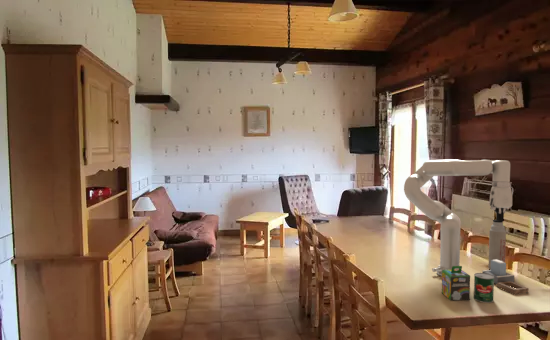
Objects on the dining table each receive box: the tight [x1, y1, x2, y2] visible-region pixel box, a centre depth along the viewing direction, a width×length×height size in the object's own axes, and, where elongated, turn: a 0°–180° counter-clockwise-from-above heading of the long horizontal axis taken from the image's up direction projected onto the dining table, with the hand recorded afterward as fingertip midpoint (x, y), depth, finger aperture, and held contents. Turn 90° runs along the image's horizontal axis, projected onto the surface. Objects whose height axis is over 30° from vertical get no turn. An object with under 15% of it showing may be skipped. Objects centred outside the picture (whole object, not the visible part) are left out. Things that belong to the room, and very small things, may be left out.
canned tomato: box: [473, 272, 495, 304], centre depth 178 cm, size 8×8×11 cm
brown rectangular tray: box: [496, 281, 529, 295], centre depth 189 cm, size 8×10×2 cm
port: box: [481, 269, 515, 285], centre depth 201 cm, size 10×10×4 cm
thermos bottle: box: [487, 219, 507, 270], centre depth 218 cm, size 8×8×28 cm
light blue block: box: [491, 259, 507, 276], centre depth 201 cm, size 4×6×10 cm, turn 14°
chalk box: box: [441, 265, 471, 301], centre depth 181 cm, size 9×9×15 cm
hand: (499, 220), depth 200 cm, fingers closed
